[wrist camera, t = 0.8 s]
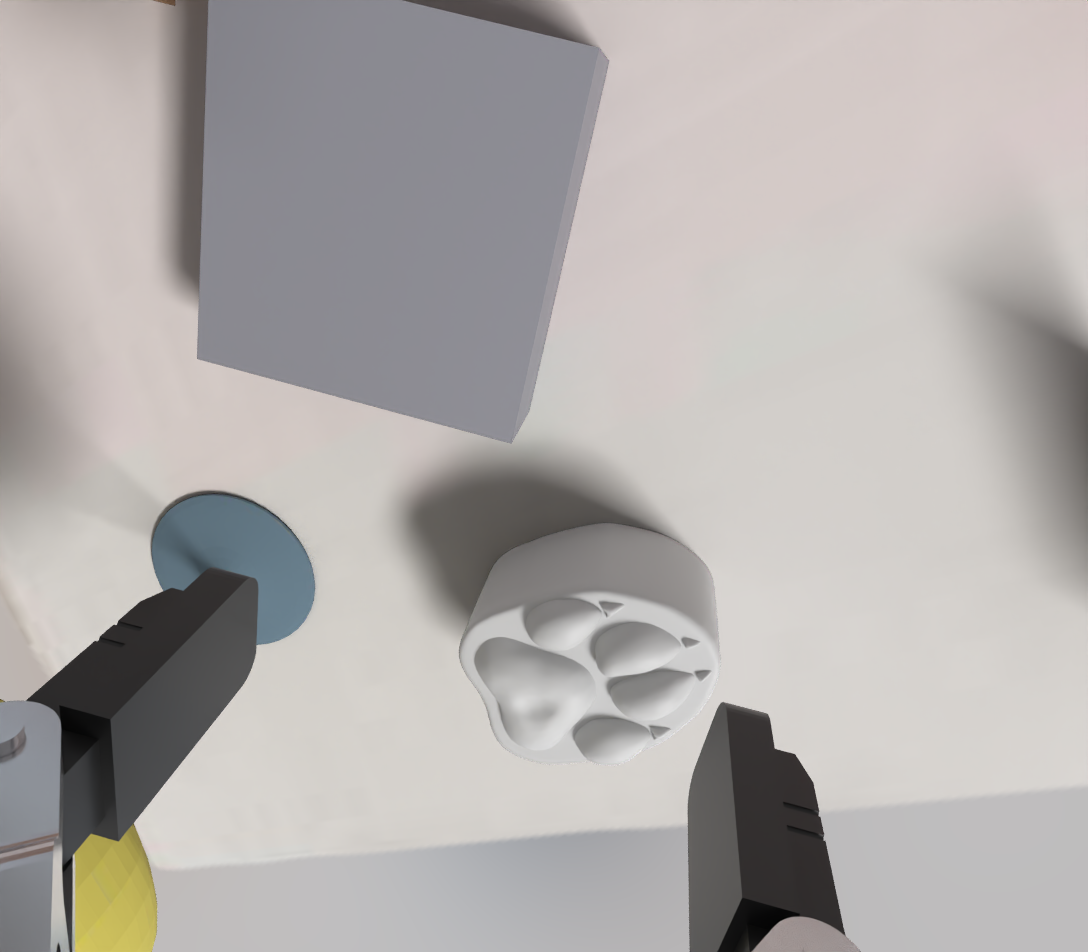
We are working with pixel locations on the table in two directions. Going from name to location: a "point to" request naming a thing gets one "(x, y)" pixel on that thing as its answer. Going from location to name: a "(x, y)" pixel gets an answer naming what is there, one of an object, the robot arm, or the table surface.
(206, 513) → the cocktail glass
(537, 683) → the lumpy-topped squat cylinder
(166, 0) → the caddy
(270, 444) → the table surface
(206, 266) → the plain gray square box
